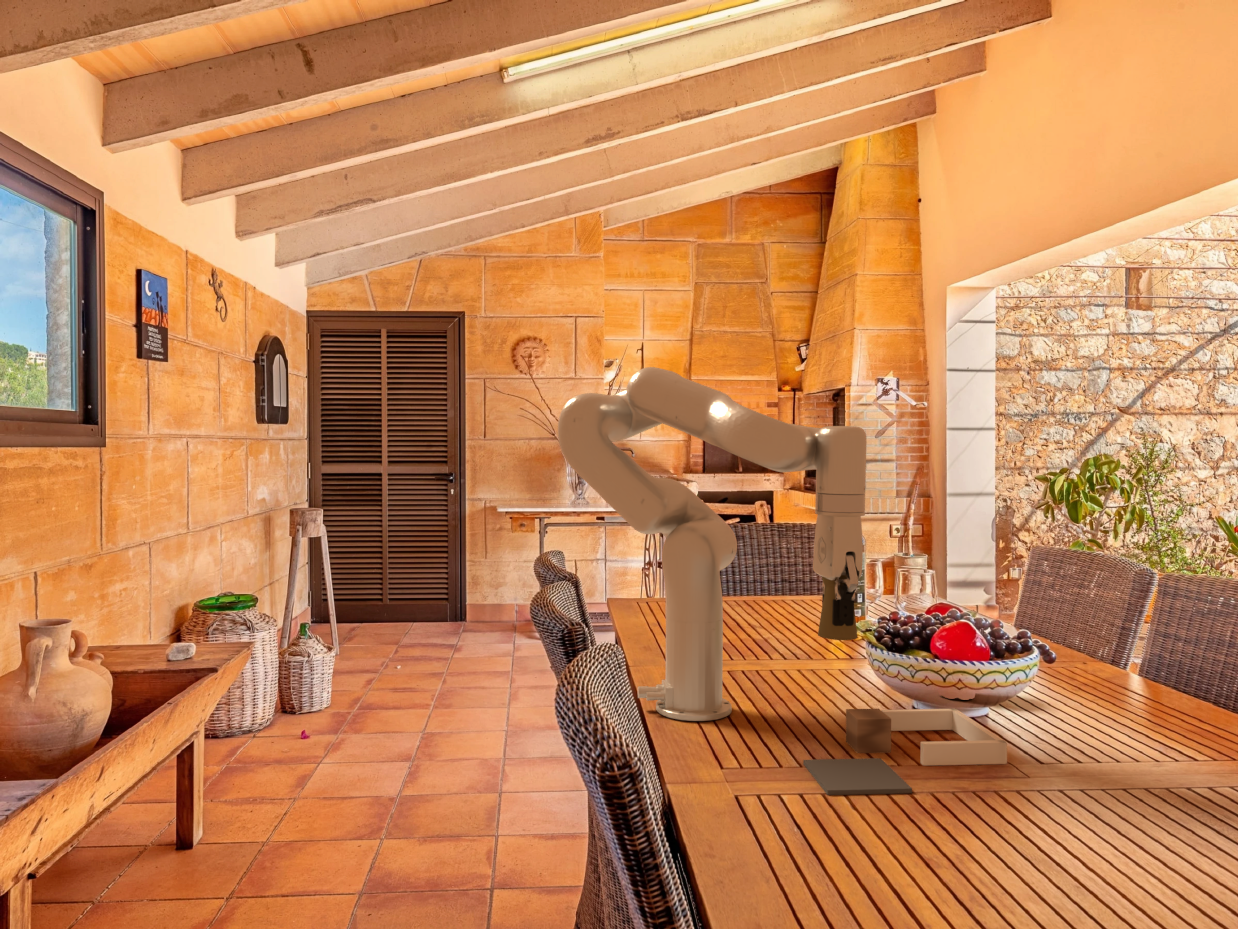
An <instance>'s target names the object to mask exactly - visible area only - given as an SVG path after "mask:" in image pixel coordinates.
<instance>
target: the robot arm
mask: <svg viewBox="0 0 1238 929" xmlns="http://www.w3.org/2000/svg"><path fill="white" fill-rule="evenodd" d="M660 425H665V426H668V427H670V428H674V429H676V430H678V431H681V432H683V433H685V434H687V435H689V436H692V437H694V438H696V439H699V440H701V441H704V442H706V443H707V444H709V445H712V446H715V447H718V448H720V449H722V450H724V451H726V452H728V453H730V454H733V456H734V455H735V456H736V457H740V458H742V459H744V460H747V461H749V462H750V463H751V462H752V463H753V464H756V465H759V466H760V467H764V468H766V469H768V470H771V471H775V472H779V473H790V472H791V473H793V472H804V471H811V470H812V471H813V470H816V471H815V512H814V514H816V515H817V516H816V522H815V530H814V539H813V540H814V541H813V558H812V570H813V571H814V573H815V574H817V575H819V576H820V577H821V578H822V577H824V578H826V579H829V580H835V599H833V613H832V624H833V625H835V626H843V625H844V624H845V625H846V626H852V625H853V624H854V609H855V599H856V590H857V588H858V587H859V579H861V577H862V573H863V561H864V560H863V557H864V556H863V551H864V550H863V526H862V517H864V516H866V483H867V482H866V478H867V477H866V476H867V475H866V474H867V473H866V472H867V434H866V431H865V430H864V429H863V428H861V427H860V426H855V425H854V426H852V425H851V426H850V425H830V426H829V425H827V426H823V427H813V426H807V425H806V426H805V425H800V424H795V423H787V422H785V421H782V420H779V419H777V418H774V417H771V416H768V415H765V414H763V413H760V412H759V411H755V410H753V409H750V408H748V407H746V406H744V405H742V404H739V403H738V402H736V401H734V400H733V398H732V397H730V395H729V394H726V393H725V392H723V391H721V390H717V389H715V388H712V387H709V386H707V385H705V384H701V383H699V382H696V381H693V380H690V379H688V378H685V377H683V376H682V375H681V374H678V373H677V372H675V371H673V370H667V369H664V368H660V367H654V366H649V367H644V368H641V369H639V370H638V371H636V372H635V373H634V374H633V375H632V376H631V377H630V379H629V380H628V383H627V385H626V389H625V390H623V391H620V392H618V393H616V394H612V395H610V394H603V393H597V392H587V393H586V392H585V393H580V394H577V395H575V396H572V397H571V398H570V399H568V401H567V402H565V404H564V405H563V407H562V409H561V411H560V413H559V418H558V421H557V439H558V444H559V447H560V450H561V453H562V455H563V456H564V458H565V460H566V461H567V463H568V464H569V466H570V468H572V469H573V470H574V472H575V473H576V474H577V475H578V476H579V477H580V478H581V479H582V480H583V481H585V482H586V484H588V486H589V487H591V488H592V489H593V490H594V491H595V492H596V493H597V494H598V495H599V496H600V497H601V498H602V499H603V500H604V501H605V502H606V503H607V504H608V505H609V507H611V508H612V509H613V510H614V511H615V512H616V513H617V514H618V515H619V516H621V518H623V519H624V521H626V522H627V524H628V525H629V526H630V527H631V528H633V529H634V530H636V532H638V533H641V534H644V535H655V534H656V535H657V534H662V535H663V536H664V537H665V538H666V539H665V540H664V542H663V546H662V550H661V564H662V572H663V579H664V591H665V679H661V683H660V684H659V683H658V684H656V685H655V686H648V685H645V686H643V685H641V686H640V685H639V686H637V699H646V701H656V703H655V710H656V712H657V713H659V714H660V715H661V716H664V717H666V718H668V719H669V718H670V719H675V720H679V721H685V722H686V721H687V722H706V721H707V722H708V721H715V720H720V719H723V718H725V717H728V716H729V715H730V714H731V713H732V703H731V702H730V701H728V700H727V699H725V698H723V672H724V671H723V669H724V668H723V664H724V662H723V661H724V660H723V657H724V655H723V653H724V652H723V651H724V649H723V646H724V639H723V638H724V630H723V629H724V626H723V625H724V617H723V616H724V615H723V614H724V612H723V610H724V608H723V607H724V604H723V603H724V602H723V590H722V589H723V588H722V580H721V574H720V571H722V570H724V569H725V568H727V567H728V566H730V565H731V563H733V561H734V559H735V558H736V555H737V550H738V541H737V536H736V535H735V532H734V530H733V529H732V528H731V526H730V525H729V524H728V523H727V522H726V521H725V520H724V519H723V518H722V517H721V516H720V515H719V514H718V513H716V512H715V511H714V510H713V509H712V508H711V507H710V506H708V505H707V504H706V503H705V502H704V501H703V500H702V499H701V498H700V497H699V496H698V495H696V493H695V492H693V491H692V490H691V489H690V488H689V487H687V486H686V485H685V484H683V483H682V482H680V481H677V480H675V479H673V478H667V477H655V476H653V474H650V473H649V472H647V471H646V470H645V469H644V467H642V466H641V465H640V464H638V463H637V461H635V460H634V459H633V457H632V456H630V455H629V454H628V453H626V451H624V450H622V449H621V448H620V447H619V446H617V445H616V444H614V443H616V442H617V443H618V442H620V441H623V440H627V439H629V438H631V437H634V436H636V435H638V434H642V433H644V432H645V431H648V430H650V429H653V428H655V427H658V426H660ZM841 575H846V576H847V579H839V577H840V576H841ZM840 583H846V584H843V585H842V588H841V585H840ZM821 592H822V598H821V599H822V600H821V601H822V603H821V606H822V605H823V599H824V592H825V585H824V583H823V582H822V586H821Z"/></svg>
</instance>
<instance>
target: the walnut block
mask: <svg viewBox="0 0 1238 929" xmlns="http://www.w3.org/2000/svg"><path fill="white" fill-rule="evenodd" d="M881 710H882V709H880V708H846V709H845V743H847V745H848V746H849V747H851V749H852V750H853V749H854V750H853V751H854V752H855V753H856V754H885V753H887V754H889V753H892V731H891V718H890V717H888V716H887V715H886V714H885V713H883V712H882V711H881Z"/></svg>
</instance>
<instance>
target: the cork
mask: <svg viewBox="0 0 1238 929" xmlns="http://www.w3.org/2000/svg"><path fill="white" fill-rule="evenodd" d="M839 579H847V576H846V575H841V576H840V577H839ZM821 581H822V584H823V583H824V585H825V592H824V599H823V605H822V604H821V612H820V617H819V618H820V619H819V625H818V632H817V635H818V636H819V637H820V638H823V639H827V640H835V641H851V640H856V639H858V629H857V618H856V610H855V608H854V624H853V625H852V626H846V625H845V624H844V625H843V626H835V625H833V624H832V613H833V599H835V580H829V579H826V578H824V577H822V576H821ZM843 584H846V583H840V585H841V588H842V585H843Z"/></svg>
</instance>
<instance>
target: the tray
mask: <svg viewBox="0 0 1238 929" xmlns="http://www.w3.org/2000/svg"><path fill="white" fill-rule="evenodd" d="M880 710H881V711H882V712H883V713H885V714H886V715H887V716H888V717H890V718H891V732H892V731H894V732H895V731H898V732H899V731H900V732H904V731H906V732H907V731H947V730H949V731H954V732H955V733H956V734H957V735H959V736H960V737H961V738H963V739H965V740H951V741H950V740H945V741H944V740H943V741H942V740H939V741H938V740H937V741H920V755H919V756H920V758H919V759H920V760H919V761H920V764H921V765H922V766H961V765H962V766H964V765H965V766H966V765H969V766H971V765H1007V764H1008V742H1007V741H1006V740H1004V739H1002V738H1001V737H1000V736H998V735H996V734H995V733H993V732H992V731H990V730H989V729H988V728H986V727H984V726H983V725H981V724H979V723H978V722H977V721H975V720H974V719H972V718H971V717H969V716H968V715H967V714H965V713H963V712H961V711H960V710H958V709H957V708H924V709H923V708H921V709H920V708H919V709H917V708H912V709H909V708H908V709H906V708H905V709H880Z"/></svg>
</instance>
